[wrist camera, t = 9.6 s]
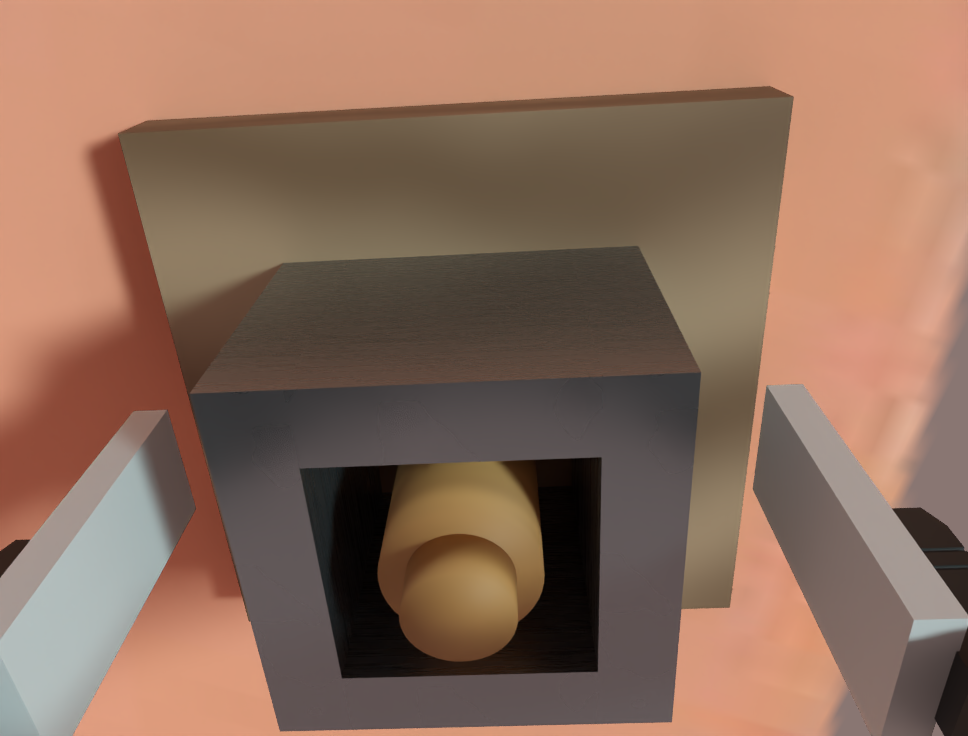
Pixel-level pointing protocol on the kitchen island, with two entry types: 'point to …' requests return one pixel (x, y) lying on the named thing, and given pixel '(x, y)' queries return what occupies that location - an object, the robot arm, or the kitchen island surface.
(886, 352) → the kitchen island surface
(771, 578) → the kitchen island surface
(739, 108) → the square plate
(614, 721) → the hollow square block
